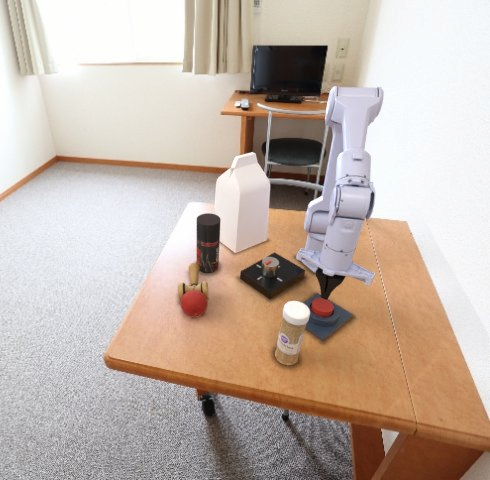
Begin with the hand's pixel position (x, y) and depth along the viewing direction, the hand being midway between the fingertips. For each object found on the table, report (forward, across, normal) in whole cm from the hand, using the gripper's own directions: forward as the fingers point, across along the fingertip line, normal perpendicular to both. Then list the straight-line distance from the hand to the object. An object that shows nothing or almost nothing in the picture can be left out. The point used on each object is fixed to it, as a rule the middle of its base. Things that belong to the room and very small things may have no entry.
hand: (325, 296), depth 75 cm
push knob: (+4, 0, 0) cm, 4 cm away
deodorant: (+6, -30, 0) cm, 31 cm away
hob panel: (+6, -14, +6) cm, 17 cm away
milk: (+6, -31, +18) cm, 36 cm away
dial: (+4, -15, +5) cm, 16 cm away
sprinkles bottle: (+6, -1, -15) cm, 16 cm away
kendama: (+6, -27, -11) cm, 30 cm away
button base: (+6, 0, 0) cm, 6 cm away
